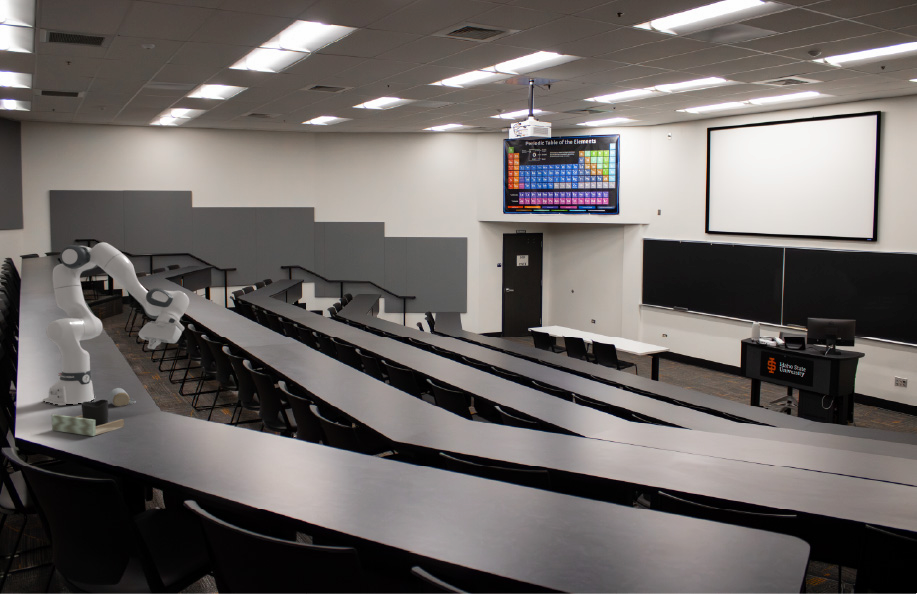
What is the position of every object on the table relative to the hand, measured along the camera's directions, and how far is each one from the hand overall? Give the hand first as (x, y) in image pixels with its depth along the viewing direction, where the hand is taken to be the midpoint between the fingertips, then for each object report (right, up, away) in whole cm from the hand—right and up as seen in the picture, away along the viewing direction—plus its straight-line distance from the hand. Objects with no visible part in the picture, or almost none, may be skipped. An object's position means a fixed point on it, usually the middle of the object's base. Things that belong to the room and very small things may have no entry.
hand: (150, 348), depth 306 cm
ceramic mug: (-16, -27, +7) cm, 32 cm away
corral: (-10, -29, -32) cm, 45 cm away
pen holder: (-9, -29, -30) cm, 43 cm away
